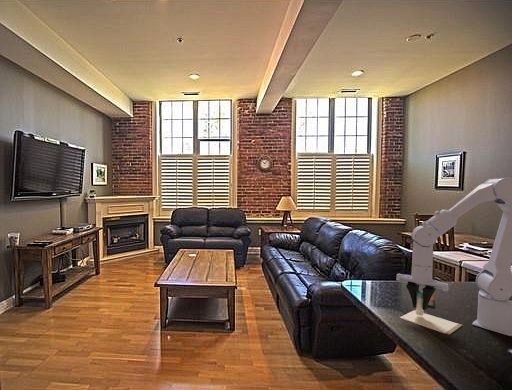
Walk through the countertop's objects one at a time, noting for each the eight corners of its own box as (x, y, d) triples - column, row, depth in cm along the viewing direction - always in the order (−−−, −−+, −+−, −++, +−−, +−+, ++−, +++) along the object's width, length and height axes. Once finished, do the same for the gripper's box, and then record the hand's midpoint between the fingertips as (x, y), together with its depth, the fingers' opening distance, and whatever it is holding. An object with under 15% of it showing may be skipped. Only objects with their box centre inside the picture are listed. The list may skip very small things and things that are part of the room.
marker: (425, 314, 101) (426, 292, 101) (422, 316, 100) (423, 293, 99) (416, 312, 103) (417, 290, 103) (414, 314, 101) (415, 291, 101)
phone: (433, 294, 123) (435, 306, 110) (433, 297, 123) (435, 310, 110) (414, 291, 126) (414, 302, 112) (414, 294, 126) (413, 306, 113)
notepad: (462, 325, 96) (462, 324, 96) (449, 335, 90) (449, 333, 90) (414, 311, 107) (414, 310, 107) (399, 318, 100) (399, 317, 100)
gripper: (452, 267, 99) (449, 311, 99) (402, 258, 109) (401, 299, 109) (445, 271, 94) (443, 317, 94) (394, 261, 104) (392, 304, 104)
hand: (420, 308), depth 101 cm, fingers closed on marker, 2 cm apart
